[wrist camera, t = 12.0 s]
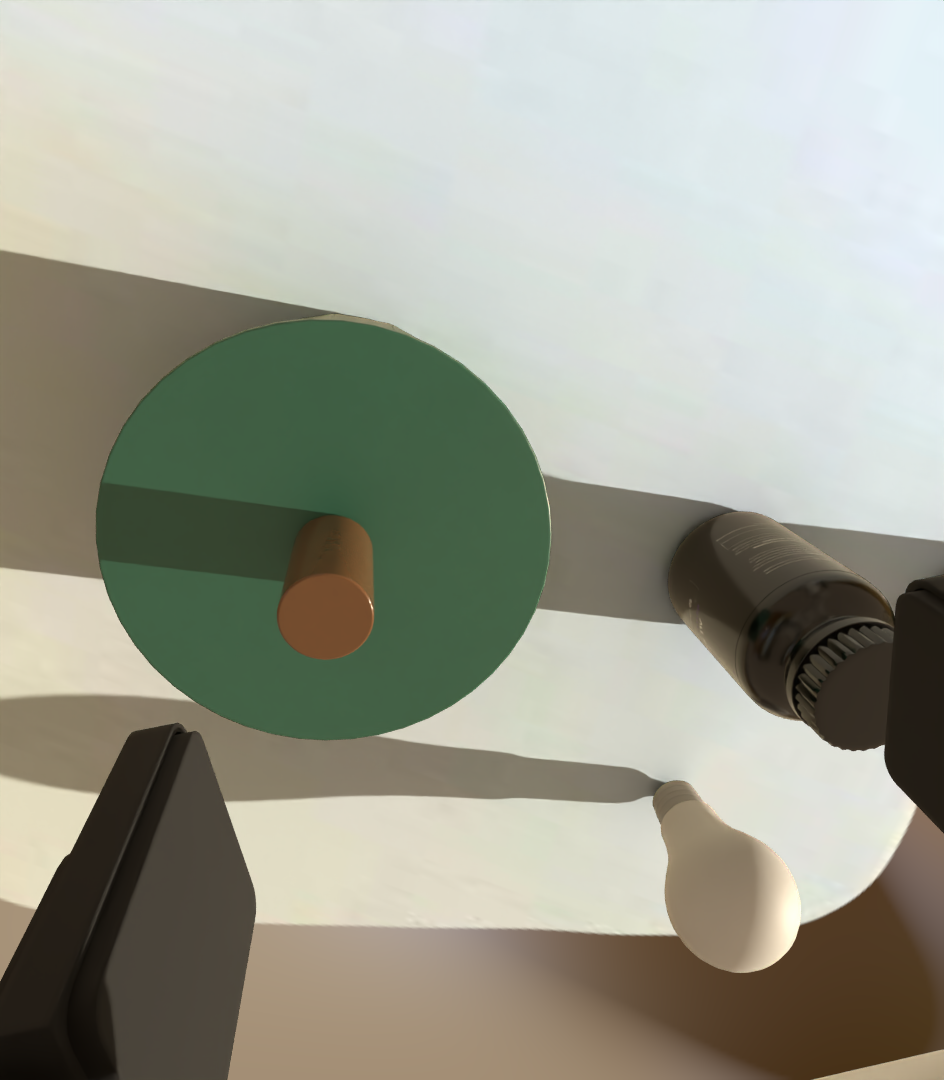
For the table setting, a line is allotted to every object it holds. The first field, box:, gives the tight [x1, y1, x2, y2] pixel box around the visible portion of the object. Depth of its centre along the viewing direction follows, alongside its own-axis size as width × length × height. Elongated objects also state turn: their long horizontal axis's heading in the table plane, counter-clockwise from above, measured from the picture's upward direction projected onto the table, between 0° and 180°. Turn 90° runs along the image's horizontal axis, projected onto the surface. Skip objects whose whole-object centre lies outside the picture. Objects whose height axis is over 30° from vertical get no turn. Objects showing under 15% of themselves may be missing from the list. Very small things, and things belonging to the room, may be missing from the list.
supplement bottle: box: [668, 511, 895, 751], centre depth 33 cm, size 7×7×12 cm
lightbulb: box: [653, 780, 801, 973], centre depth 38 cm, size 6×6×11 cm
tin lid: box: [96, 318, 552, 740], centre depth 23 cm, size 15×15×6 cm
